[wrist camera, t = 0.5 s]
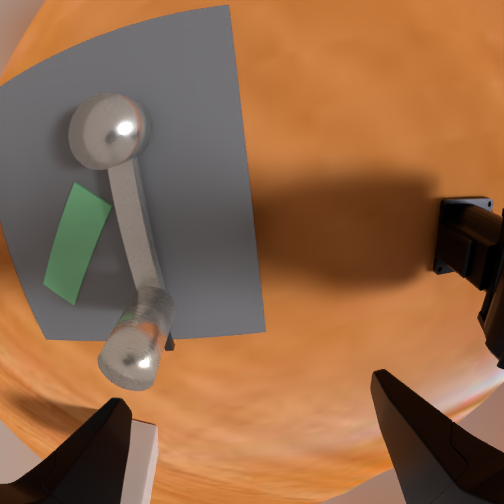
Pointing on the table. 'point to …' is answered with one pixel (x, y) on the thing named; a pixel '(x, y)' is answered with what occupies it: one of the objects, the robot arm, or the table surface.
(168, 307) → the lever
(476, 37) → the table surface
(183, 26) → the board
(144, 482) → the milk carton
